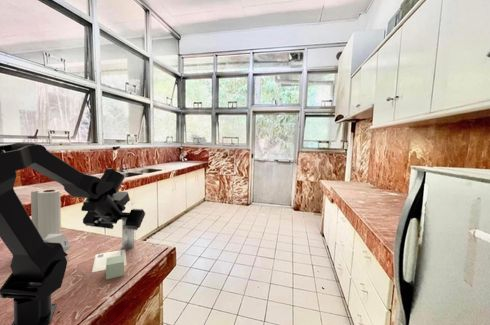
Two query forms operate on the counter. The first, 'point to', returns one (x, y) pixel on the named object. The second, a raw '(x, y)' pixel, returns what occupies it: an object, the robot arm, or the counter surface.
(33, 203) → the paper towel roll
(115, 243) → the counter surface
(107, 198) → the robot arm
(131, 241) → the tin
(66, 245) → the die
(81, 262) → the counter surface
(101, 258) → the letter
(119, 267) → the block
